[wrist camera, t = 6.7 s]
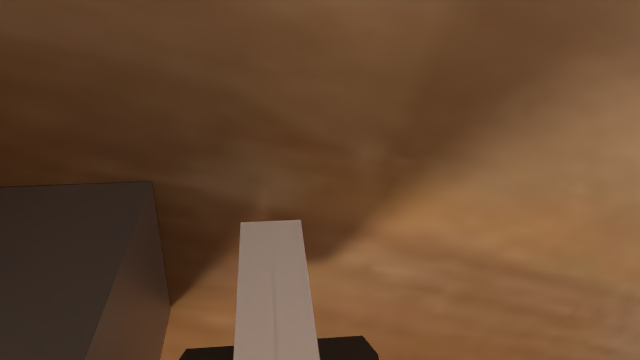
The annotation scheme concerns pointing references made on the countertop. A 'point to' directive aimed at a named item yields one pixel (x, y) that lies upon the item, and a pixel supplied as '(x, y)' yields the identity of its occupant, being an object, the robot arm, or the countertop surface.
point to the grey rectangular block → (81, 273)
